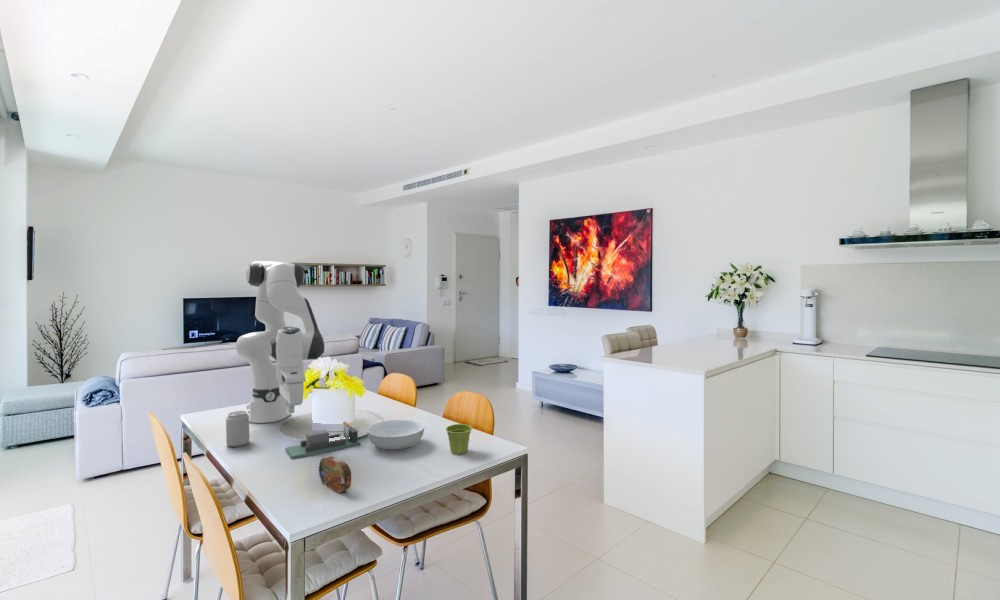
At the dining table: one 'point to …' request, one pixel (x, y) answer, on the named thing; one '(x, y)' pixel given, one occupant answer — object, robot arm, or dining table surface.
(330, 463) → the tin
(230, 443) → the can
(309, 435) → the plug
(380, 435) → the serving bowl
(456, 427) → the plant pot
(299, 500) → the dining table surface
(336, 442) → the header board
